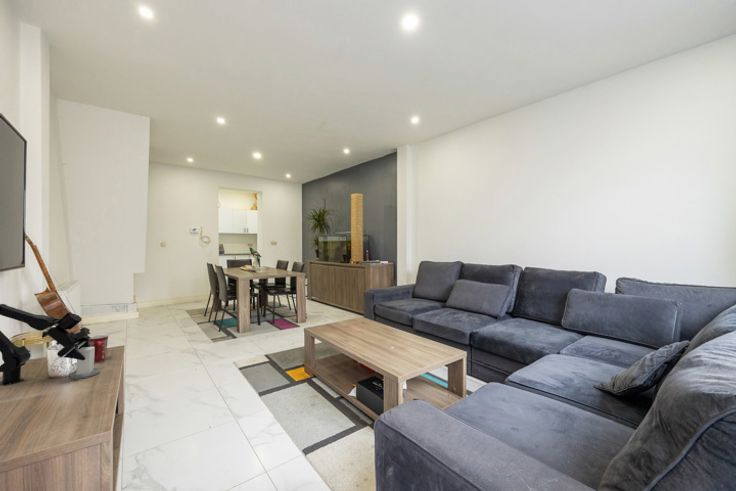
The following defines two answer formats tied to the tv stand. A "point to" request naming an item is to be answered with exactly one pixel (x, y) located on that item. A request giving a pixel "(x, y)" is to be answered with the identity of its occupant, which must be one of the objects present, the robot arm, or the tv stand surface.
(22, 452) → the tv stand surface
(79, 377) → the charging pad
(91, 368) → the block
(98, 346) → the mug
